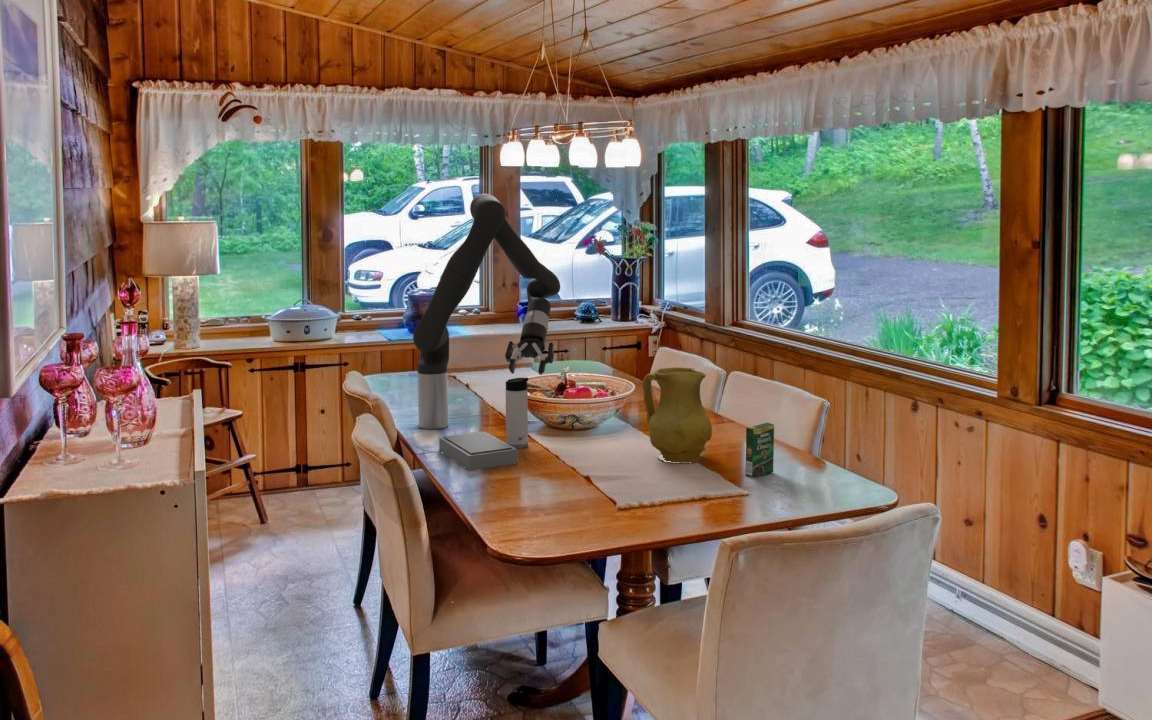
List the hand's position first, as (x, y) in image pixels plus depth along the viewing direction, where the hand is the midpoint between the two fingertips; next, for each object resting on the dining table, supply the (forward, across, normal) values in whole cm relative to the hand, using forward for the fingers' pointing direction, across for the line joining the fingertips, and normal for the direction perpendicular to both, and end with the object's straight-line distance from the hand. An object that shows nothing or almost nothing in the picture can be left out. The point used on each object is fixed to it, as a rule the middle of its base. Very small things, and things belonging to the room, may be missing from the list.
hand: (526, 372), depth 291 cm
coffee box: (+32, +69, -4) cm, 76 cm away
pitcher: (+23, +46, +5) cm, 52 cm away
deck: (+31, -8, -4) cm, 32 cm away
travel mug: (+21, 0, +7) cm, 22 cm away
